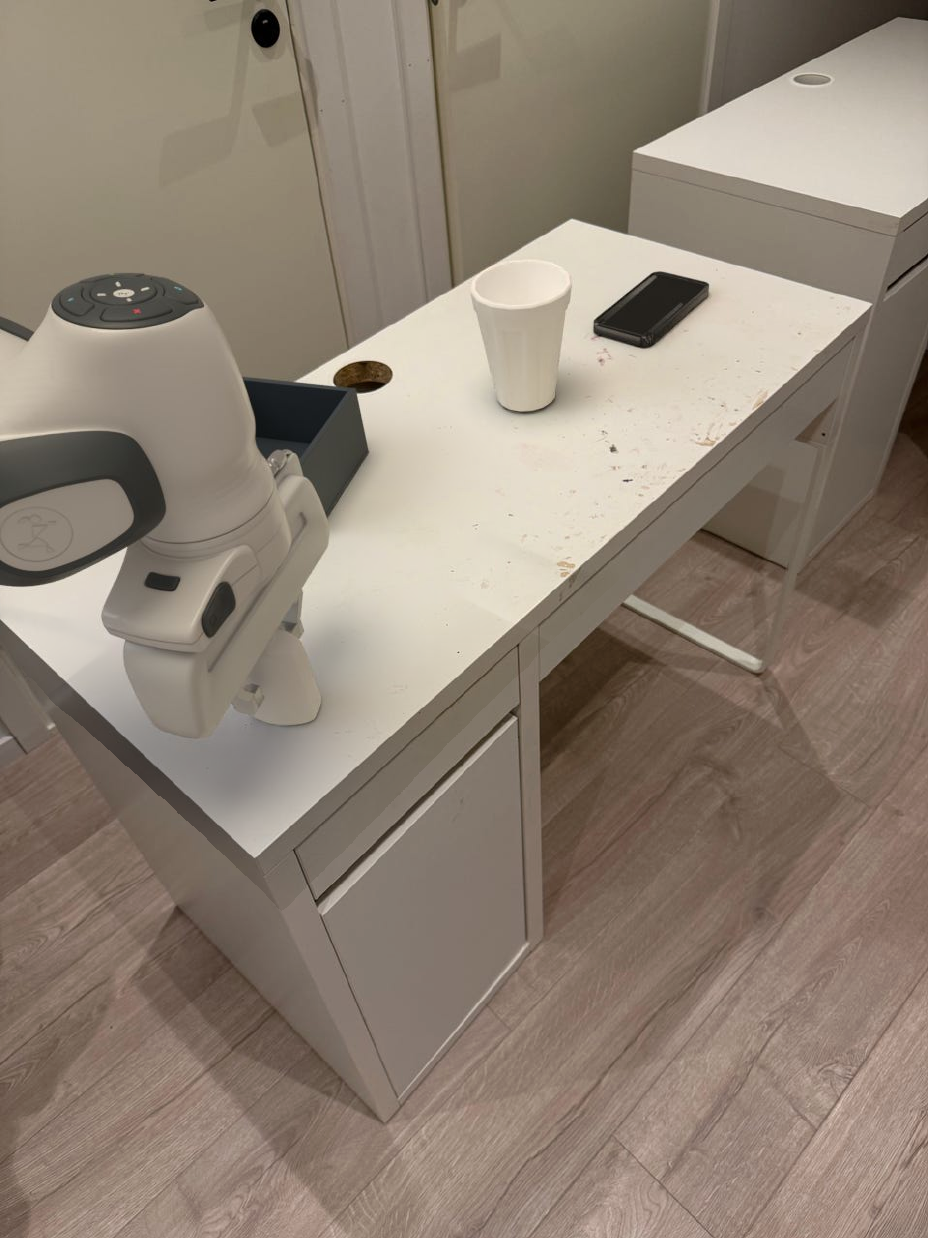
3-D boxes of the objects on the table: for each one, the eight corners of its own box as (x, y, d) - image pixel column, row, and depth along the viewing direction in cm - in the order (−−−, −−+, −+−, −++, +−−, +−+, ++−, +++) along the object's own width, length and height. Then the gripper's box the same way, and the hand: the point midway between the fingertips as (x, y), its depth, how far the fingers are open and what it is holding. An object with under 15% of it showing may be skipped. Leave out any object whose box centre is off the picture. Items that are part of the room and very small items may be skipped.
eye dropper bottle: (282, 675, 72) (241, 568, 63) (331, 706, 69) (296, 599, 60) (242, 711, 69) (194, 605, 61) (291, 744, 67) (248, 639, 58)
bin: (177, 513, 87) (150, 450, 82) (240, 435, 96) (220, 373, 90) (316, 535, 83) (297, 470, 78) (369, 452, 91) (355, 387, 86)
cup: (590, 387, 96) (591, 270, 86) (540, 435, 91) (535, 316, 81) (513, 364, 100) (507, 251, 91) (461, 408, 95) (449, 293, 86)
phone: (589, 323, 103) (655, 269, 110) (589, 332, 103) (655, 278, 111) (649, 340, 99) (713, 283, 106) (648, 349, 100) (712, 292, 107)
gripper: (249, 430, 63) (293, 570, 73) (82, 638, 50) (164, 773, 60) (328, 440, 61) (363, 581, 71) (177, 658, 49) (245, 793, 59)
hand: (271, 671), depth 66 cm, fingers open, 5 cm apart
